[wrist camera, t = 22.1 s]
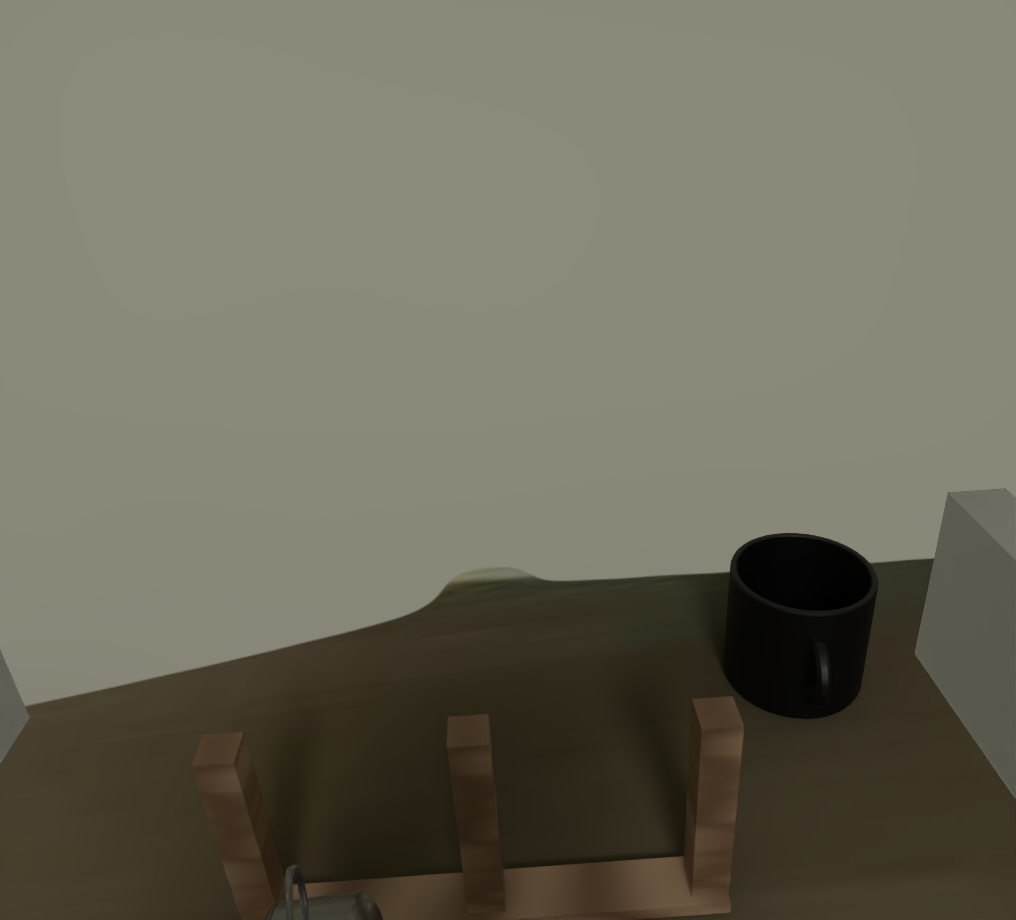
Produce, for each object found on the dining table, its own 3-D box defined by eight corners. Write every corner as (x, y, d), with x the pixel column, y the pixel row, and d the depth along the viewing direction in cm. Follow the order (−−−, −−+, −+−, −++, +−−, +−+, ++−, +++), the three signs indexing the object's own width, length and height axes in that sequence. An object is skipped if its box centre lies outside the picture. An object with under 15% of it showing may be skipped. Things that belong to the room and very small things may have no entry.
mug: (742, 751, 55) (752, 641, 51) (713, 631, 66) (720, 533, 62) (892, 751, 54) (915, 640, 50) (838, 630, 65) (853, 530, 61)
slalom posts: (716, 863, 48) (729, 688, 42) (730, 912, 45) (747, 734, 39) (258, 896, 48) (205, 726, 42) (245, 948, 45) (187, 774, 39)
